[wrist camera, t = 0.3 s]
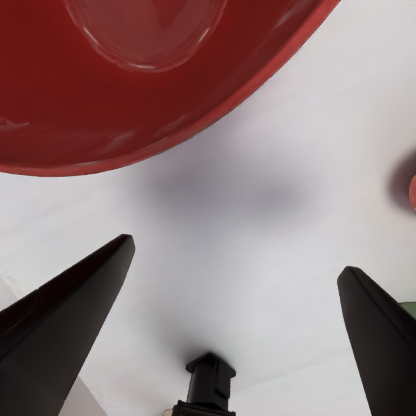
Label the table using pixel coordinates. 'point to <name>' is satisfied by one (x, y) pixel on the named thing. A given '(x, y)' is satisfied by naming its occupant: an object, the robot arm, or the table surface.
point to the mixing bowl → (132, 74)
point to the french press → (167, 413)
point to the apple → (413, 192)
